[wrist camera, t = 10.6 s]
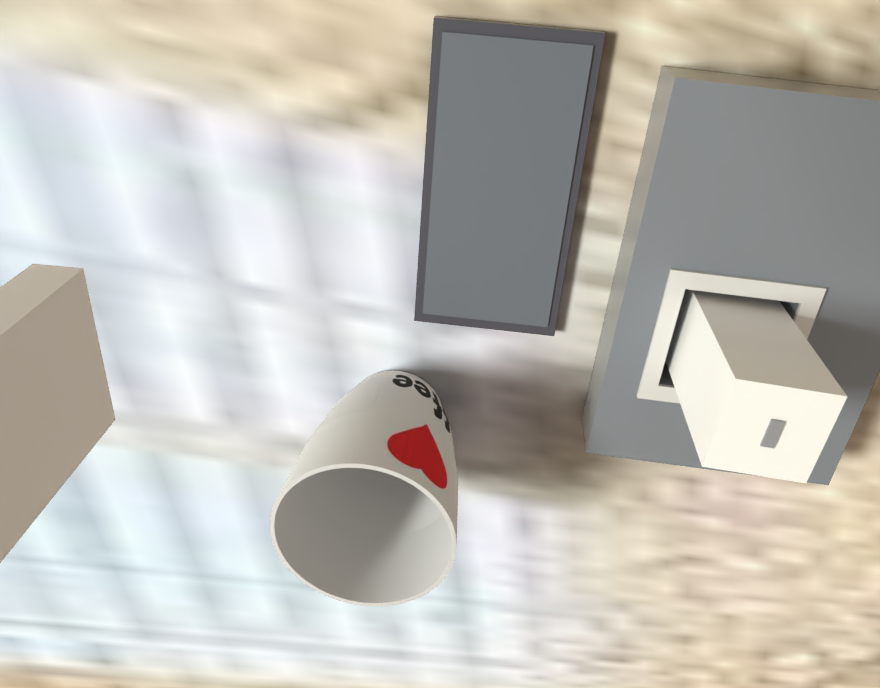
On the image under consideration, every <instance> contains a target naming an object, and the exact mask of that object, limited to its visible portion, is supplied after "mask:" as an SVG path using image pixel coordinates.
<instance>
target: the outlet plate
mask: <svg viewBox="0 0 880 688" xmlns="http://www.w3.org/2000/svg"><path fill="white" fill-rule="evenodd" d="M685 289H689V290H697V291H705V292H713V293H721V294H729V295H737V296H745V297H753V298H761V299H769V300H778V301H780V303H781V304H782V306H783V307H784V308H785V310H786V311H787V313H788V314H789V315H790V317H791V318H792V320H793V321H794V322H795V324H796V325H797V327H798V328H799V329H800V331H801V332H802V334H803V335H804V336H805V338H806V339H807V341H808V342H809V343H810V345H811V346H812V348H813V349H814V350H815V352H816V353H817V355H818V356H819V357H820V359H821V360H822V362H823V363H824V364H825V366H826V367H827V369H828V370H829V371H830V373H831V374H832V376H833V377H834V378H835V380H836V381H837V383H838V384H839V385H840V387H841V388H842V390H843V391H844V392H845V394H846V395H847V399H846V401H845V403H844V405H843V407H842V409H841V411H840V413H839V416H838V418H837V420H836V422H835V424H834V426H833V428H832V430H831V432H830V434H829V437H828V439H827V441H826V443H825V445H824V447H823V449H822V451H821V453H820V455H819V458H818V460H817V462H816V464H815V466H814V468H813V470H812V472H811V474H810V476H809V478H808V481H807V482H808V483H816V484H824V485H829V483H830V481H831V478H832V476H833V474H834V472H835V469H836V467H837V465H838V463H839V460H840V458H841V456H842V454H843V452H844V449H845V447H846V445H847V443H848V440H849V438H850V436H851V434H852V431H853V429H854V427H855V425H856V423H857V420H858V418H859V416H860V414H861V411H862V409H863V407H864V405H865V402H866V400H867V398H868V396H869V394H870V391H871V389H872V387H873V385H874V382H875V380H876V378H877V376H878V373H879V371H880V90H872V89H863V88H854V87H845V86H836V85H827V84H819V83H810V82H801V81H792V80H783V79H774V78H765V77H757V76H748V75H739V74H730V73H721V72H712V71H704V70H695V69H686V68H677V67H668V66H662V68H661V72H660V77H659V81H658V86H657V90H656V94H655V99H654V103H653V108H652V112H651V116H650V121H649V125H648V130H647V134H646V138H645V143H644V147H643V152H642V156H641V160H640V165H639V169H638V174H637V178H636V182H635V187H634V191H633V196H632V200H631V204H630V209H629V213H628V218H627V222H626V226H625V231H624V235H623V240H622V244H621V248H620V253H619V257H618V262H617V266H616V270H615V275H614V279H613V284H612V288H611V292H610V297H609V301H608V306H607V310H606V314H605V319H604V323H603V328H602V332H601V336H600V341H599V345H598V350H597V354H596V358H595V363H594V367H593V372H592V376H591V380H590V385H589V389H588V394H587V398H586V402H585V407H584V411H583V416H582V425H583V433H584V441H585V448H586V453H589V454H597V455H604V456H612V457H619V458H627V459H634V460H642V461H650V462H657V463H665V464H672V465H680V466H687V467H695V468H702V469H710V470H718V471H725V472H732V471H726V470H720V469H714V468H707V467H702V465H701V462H700V459H699V456H698V453H697V451H696V448H695V445H694V442H693V439H692V436H691V433H690V430H689V427H688V424H687V422H686V419H685V416H684V413H683V410H682V407H681V404H680V401H679V398H678V395H677V393H676V390H675V387H674V384H673V381H672V378H671V375H670V372H669V369H668V367H667V364H666V361H665V360H666V356H667V353H668V349H669V346H670V342H671V338H672V335H673V331H674V328H675V324H676V321H677V317H678V313H679V310H680V306H681V303H682V299H683V296H684V292H685ZM733 473H738V472H733ZM740 474H745V473H740ZM748 475H751V474H748ZM755 476H757V475H755Z"/></svg>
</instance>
